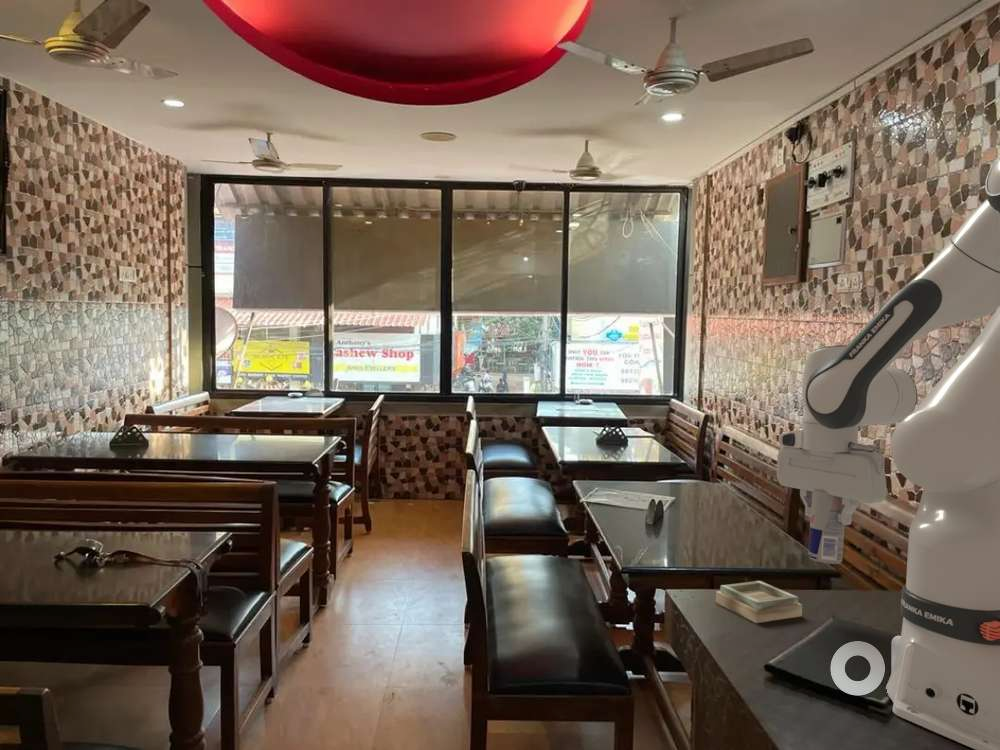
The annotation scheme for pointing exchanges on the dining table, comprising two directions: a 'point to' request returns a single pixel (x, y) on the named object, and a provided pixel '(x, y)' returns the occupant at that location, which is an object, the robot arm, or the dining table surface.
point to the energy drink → (826, 528)
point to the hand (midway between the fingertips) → (827, 520)
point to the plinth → (758, 601)
